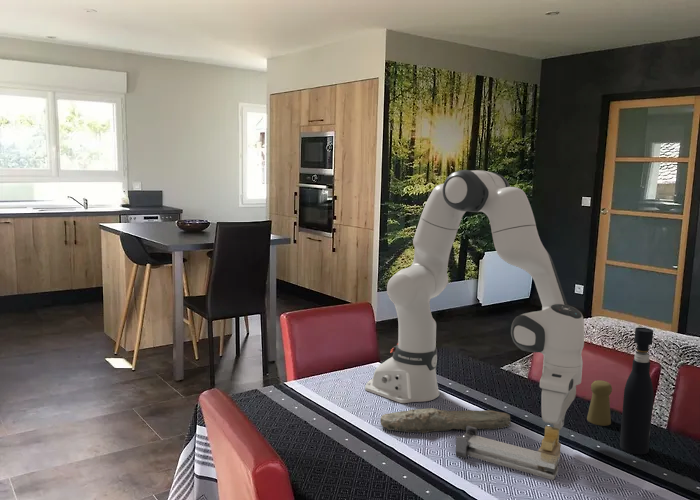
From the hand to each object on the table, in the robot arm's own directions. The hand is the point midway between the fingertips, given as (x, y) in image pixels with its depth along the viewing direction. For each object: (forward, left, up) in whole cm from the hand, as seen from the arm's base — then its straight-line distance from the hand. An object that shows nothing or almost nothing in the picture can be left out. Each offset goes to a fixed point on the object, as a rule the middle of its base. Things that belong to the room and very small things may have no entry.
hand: (558, 427), depth 144 cm
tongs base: (-8, -14, -5) cm, 17 cm away
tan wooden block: (0, -8, -5) cm, 10 cm away
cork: (+6, +22, -5) cm, 23 cm away
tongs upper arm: (-8, -14, -3) cm, 17 cm away
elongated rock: (-28, -4, -6) cm, 28 cm away
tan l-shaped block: (0, -8, -1) cm, 9 cm away
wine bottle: (+16, +10, -5) cm, 20 cm away
